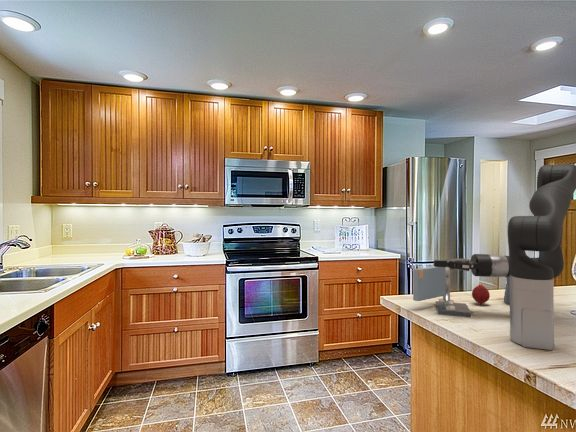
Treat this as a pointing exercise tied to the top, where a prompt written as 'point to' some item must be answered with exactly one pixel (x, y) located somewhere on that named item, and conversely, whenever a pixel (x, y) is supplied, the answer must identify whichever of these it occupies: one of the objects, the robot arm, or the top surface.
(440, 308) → the grey flat base plate
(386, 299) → the top surface
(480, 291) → the onion
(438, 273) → the grey standing sign
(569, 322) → the top surface
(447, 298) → the hinge post
